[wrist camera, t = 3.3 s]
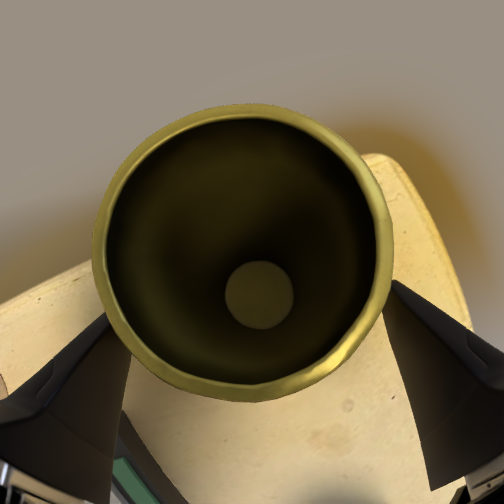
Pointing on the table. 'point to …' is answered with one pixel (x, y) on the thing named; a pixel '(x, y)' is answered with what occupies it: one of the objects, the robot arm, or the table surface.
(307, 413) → the table surface
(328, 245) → the vase
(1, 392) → the candle
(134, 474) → the scale
